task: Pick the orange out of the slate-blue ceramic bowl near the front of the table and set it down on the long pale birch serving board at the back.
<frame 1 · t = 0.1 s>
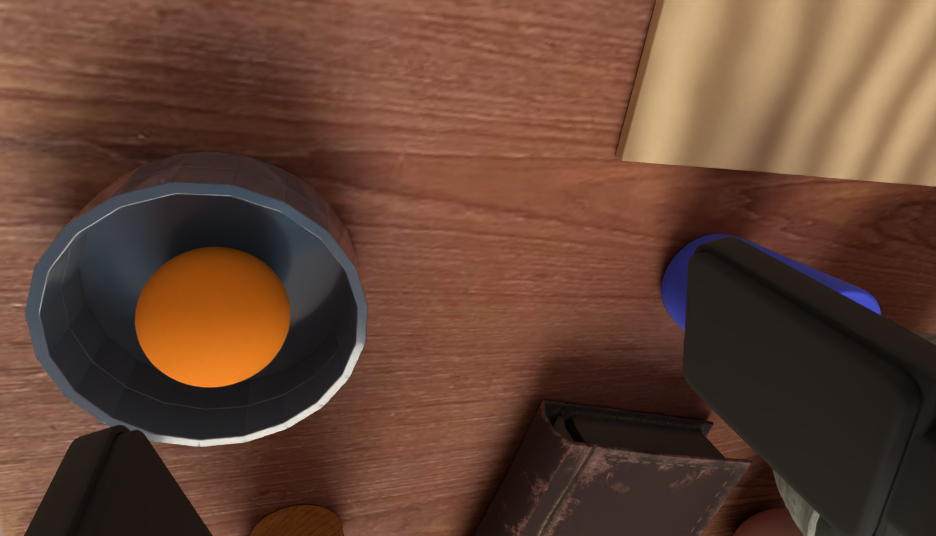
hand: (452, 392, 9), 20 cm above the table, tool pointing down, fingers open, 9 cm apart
orange: (217, 316, 24), point 4 cm above the table, touching fruit bowl
mug: (710, 283, 38), on the table
bowl: (815, 386, 47), on the table
mortar and pestle: (748, 522, 55), on the table
diary: (565, 520, 45), on the table
disposable coffee cup: (296, 533, 37), on the table
serving board: (930, 23, 33), on the table
fruit bowl: (226, 278, 27), on the table
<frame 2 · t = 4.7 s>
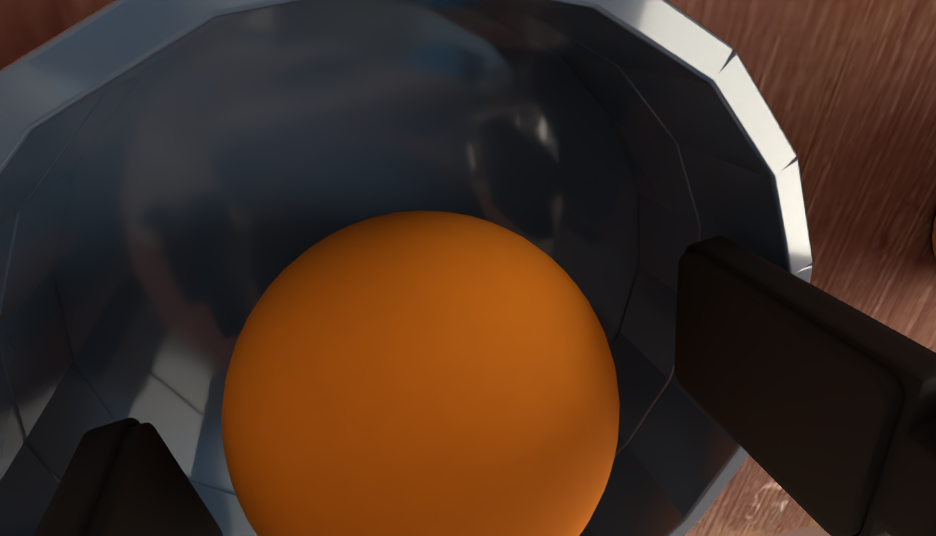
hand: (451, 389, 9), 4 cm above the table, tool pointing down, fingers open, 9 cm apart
orange: (426, 396, 9), point 4 cm above the table, touching fruit bowl
fruit bowl: (389, 293, 12), on the table
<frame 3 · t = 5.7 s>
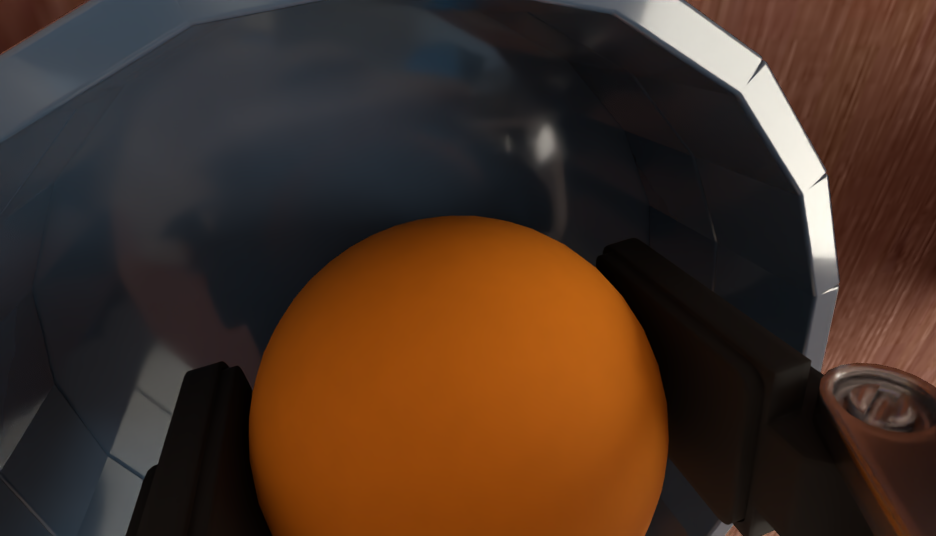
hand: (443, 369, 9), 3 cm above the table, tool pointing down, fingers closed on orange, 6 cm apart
orange: (459, 411, 9), point 4 cm above the table, tilted 8°, touching fruit bowl, gripper
fruit bowl: (389, 308, 12), on the table
when the fingers open (3 cm above the table, at t = 13.7 s): orange stays where it is, resting on serving board.
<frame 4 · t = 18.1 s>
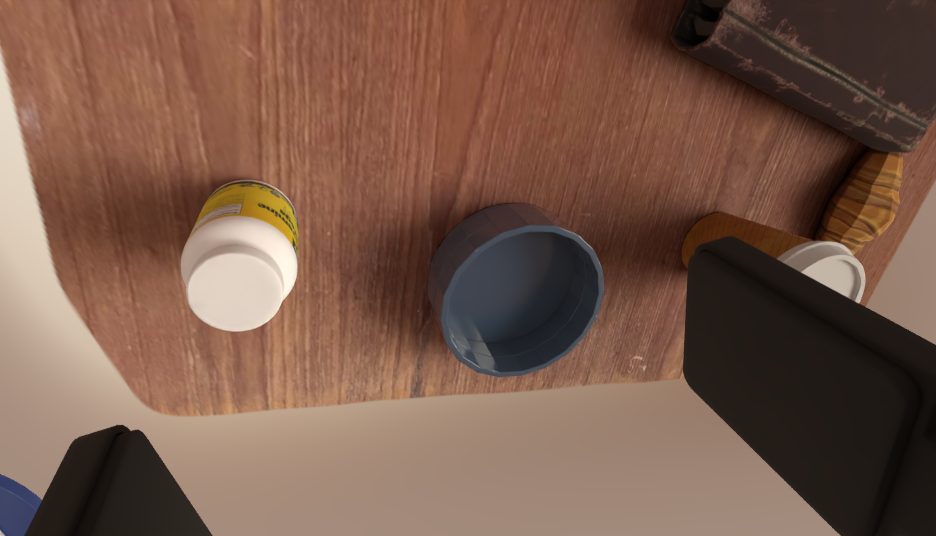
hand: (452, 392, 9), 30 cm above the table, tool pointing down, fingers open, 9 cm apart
croissant: (838, 201, 52), on the table
disposable coffee cup: (708, 242, 50), on the table
pill bottle: (251, 218, 37), on the table
fruit bowl: (503, 277, 45), on the table
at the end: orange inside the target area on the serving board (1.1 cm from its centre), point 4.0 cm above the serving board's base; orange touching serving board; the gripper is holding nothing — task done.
